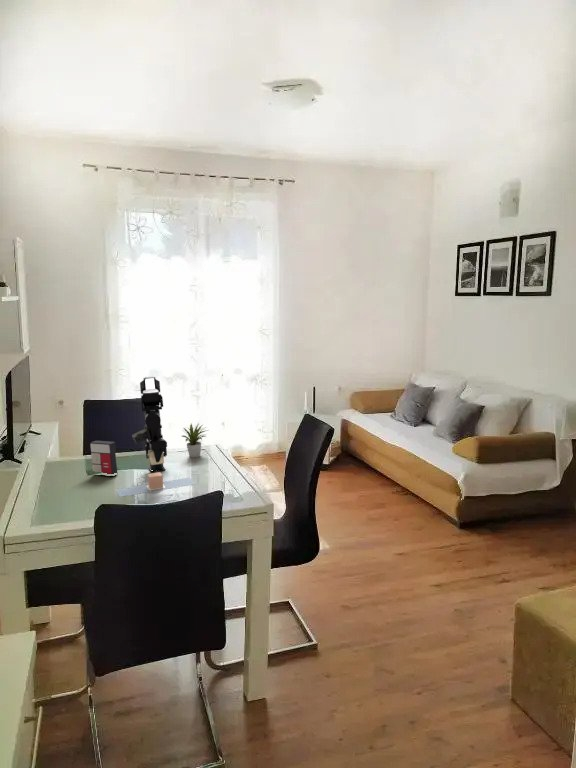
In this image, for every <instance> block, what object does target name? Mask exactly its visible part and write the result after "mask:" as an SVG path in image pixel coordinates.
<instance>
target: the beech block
mask: <svg viewBox="0 0 576 768" xmlns="http://www.w3.org/2000/svg"><path fill="white" fill-rule="evenodd" d="M148 453H149V458H148V461H149V465H150V464H151V465H156V464H162V463H163V464H164V463H165V459H164V458H165V457H164V455H163V453H164V452H163V453H162V455H161V458H160V461H159V462H156V460H155V456H154V452H153V450H148Z"/></svg>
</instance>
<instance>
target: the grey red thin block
mask: <svg viewBox="0 0 576 768" xmlns="http://www.w3.org/2000/svg"><path fill="white" fill-rule="evenodd" d="M89 445H90V455H91V464H92V465H91V466H92V472H93V471H95V472H103V473H107V474H114V473H117V474H118V467H117V466H118V465H117V464H118V463H117V457H116V456H117V455H116V454H117V453H116V452H117V447H116V442H115V441H107V440H94V441H91V442H89Z"/></svg>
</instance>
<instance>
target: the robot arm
mask: <svg viewBox="0 0 576 768" xmlns="http://www.w3.org/2000/svg"><path fill="white" fill-rule="evenodd" d="M139 387H140V401H141V411H142V412H144V417H145V418H144V421H145V424H144V427H143V428H144V429H141V430H139V431H137V432H136V433H133V434H132V435H131V436H132V437H131V438H132V440H133V441H134V443H135V445H138V444H140V443H142V442H144V443H145V444H146V445H145V456H146V460H149V453H148V450H153V452H154V456H155V460H156V462H159V461H160V458H161V455H162V453H163V455H164V458H165V457H167V456H168V450H167V447H168V441H167V440H166V439H164V436H163V434H162V428H163V425H162V423H161V421H162V419H161V413H160V410H163V408H164V398H163V396H162V394H161V383H160V381H159V380H158V379H156V376H145V377H143V379H142V380H141V381H140V382H139ZM149 466H150V467H149V468H150V469H151V470H153V471H151V472H150V473H155V472H154V471H158V472H162V471H163V472H164V471H166V468H165V466H164V463H162V464H156V465H151V464H150V463H149Z"/></svg>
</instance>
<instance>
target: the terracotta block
mask: <svg viewBox="0 0 576 768" xmlns="http://www.w3.org/2000/svg"><path fill="white" fill-rule="evenodd" d="M163 482H164V480H163V474H162V473H161V471H158V472H150V473H148V474H147V483H148V485H149V487H150V489H157V488H163Z"/></svg>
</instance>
